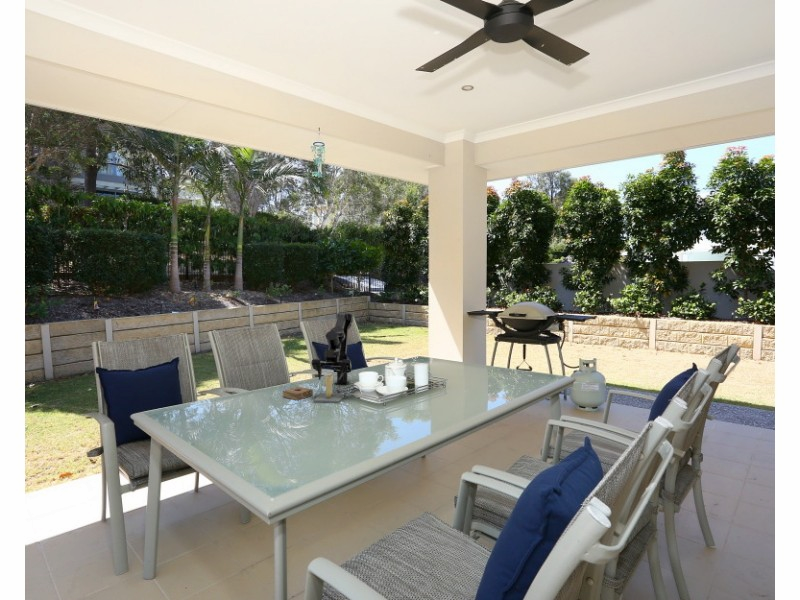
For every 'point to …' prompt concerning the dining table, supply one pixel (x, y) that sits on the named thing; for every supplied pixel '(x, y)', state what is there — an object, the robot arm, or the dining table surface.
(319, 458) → the dining table surface
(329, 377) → the t key
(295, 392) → the slot block
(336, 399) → the mat
